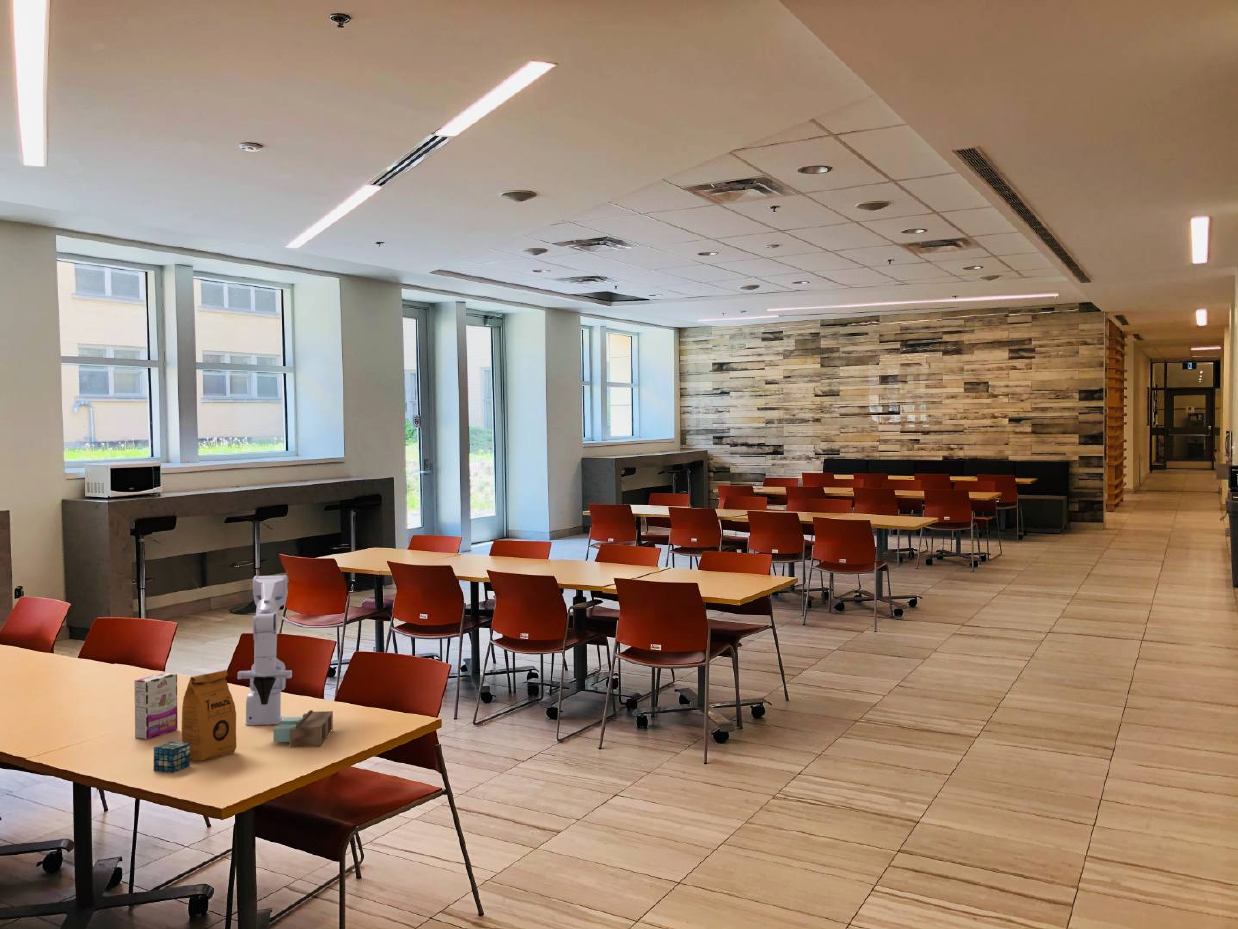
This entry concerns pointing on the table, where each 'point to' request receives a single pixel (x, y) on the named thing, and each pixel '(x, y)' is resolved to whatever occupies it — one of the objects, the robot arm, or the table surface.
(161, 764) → the puzzle
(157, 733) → the candy bar box
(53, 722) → the table surface
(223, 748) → the coffee package
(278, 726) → the peg near
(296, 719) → the peg far
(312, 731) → the sleeve block
